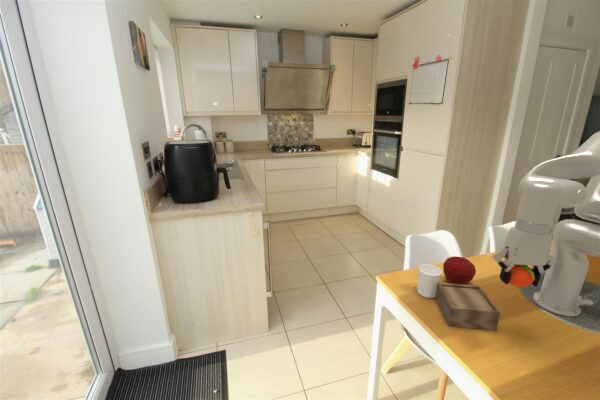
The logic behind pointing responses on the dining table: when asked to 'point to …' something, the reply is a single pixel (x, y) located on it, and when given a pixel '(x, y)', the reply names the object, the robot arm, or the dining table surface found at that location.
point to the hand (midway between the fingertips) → (518, 282)
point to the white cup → (428, 280)
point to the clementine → (521, 276)
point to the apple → (458, 270)
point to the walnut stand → (467, 306)
